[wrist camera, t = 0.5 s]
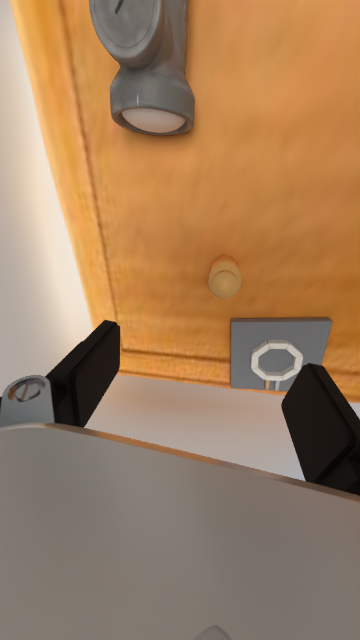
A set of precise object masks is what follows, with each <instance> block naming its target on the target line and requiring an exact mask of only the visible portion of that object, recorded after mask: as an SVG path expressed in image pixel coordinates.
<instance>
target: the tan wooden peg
mask: <svg viewBox="0 0 360 640" xmlns="http://www.w3.org/2000/svg"><path fill="white" fill-rule="evenodd" d="M241 284H242V278H241V274H240V270H239V266H238V263H237V261H236V260H235V259H234V258H232V257H231V256H220V257H218V258H216V259H215V260H214V261H213V263H212V265H211V269H210V273H209V278H208V286H209V289H210V291H211V292H212V293H213V294H214V295H216V296H217V297H219V298H223V299H226V298H230V297H232V296H233V295H235V294H236V293H237V292H238V291H239V289H240V287H241Z"/></svg>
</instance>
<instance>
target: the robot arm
mask: <svg viewBox="0 0 360 640" xmlns="http://www.w3.org/2000/svg"><path fill="white" fill-rule="evenodd" d="M119 367H120V326H118V325H117V323H116V322H113V321H108V320H104V321H103V322H102V323H101V324H100V325H99V326H98V327H97V328H96V329H95V330H94V331H93V332H92V333H91V334H90V335H89V336H88V337H87V338H86V339H85V340H84V341H82V342H80V343H79V344H78V345H77V346H76V347H75V348H74V349H73V350H72V351H71V352H70V353H69V354H68V355H67V356H66V357H65V358H64V359H63V360H62V361H61V362H60V363H59V364H58V365H57V366H56V367H55V368H54V369H52V371H51V372H50V373H48V374H47V375H46V376H45V377H44V376H41V375H31V376H26V377H23V378H20V379H18V380H16V381H14V382H13V383H11V384H10V385H9V386H8V387H7V388H6V389H5V391H4V392H3V395H2V397H0V640H360V419H359V418H358V416H357V415H356V413H355V412H354V410H353V409H352V407H351V406H350V405H349V403H348V402H347V400H346V399H345V397H344V396H343V394H342V393H341V391H340V390H339V388H338V387H337V386H336V384H335V383H334V381H333V380H332V378H331V377H330V375H329V374H328V372H327V371H326V369H325V368H324V367H323V366H322V365H317V364H313V363H308V364H306V365H303V366H302V368H301V370H300V371H299V373H298V375H297V377H296V378H295V380H294V382H293V384H292V385H291V387H290V389H289V391H288V392H287V394H286V396H285V398H284V399H283V401H282V405H281V406H282V411H283V414H284V417H285V420H286V423H287V426H288V429H289V432H290V435H291V438H292V441H293V444H294V447H295V450H296V453H297V456H298V459H299V462H300V466H301V468H302V472H303V475H304V477H305V480H306V481H302V480H298V479H294V478H290V477H286V476H282V475H278V474H274V473H269V472H266V471H262V470H258V469H254V468H250V467H246V466H242V465H238V464H234V463H230V462H226V461H221V460H218V459H214V458H210V457H205V456H201V455H197V454H193V453H189V452H185V451H181V450H177V449H172V448H168V447H164V446H160V445H156V444H152V443H148V442H143V441H139V440H135V439H131V438H127V437H122V436H118V435H114V434H109V433H105V432H100V431H96V430H91V429H86V428H84V427H85V425H86V424H87V422H88V420H89V419H90V417H91V415H92V414H93V412H94V410H95V409H96V407H97V405H98V404H99V402H100V401H101V399H102V397H103V396H104V393H105V392H106V390H107V389H108V387H109V386H110V384H111V382H112V380H113V379H114V377H115V376H116V374H117V372H118V370H119Z"/></svg>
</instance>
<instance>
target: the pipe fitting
mask: <svg viewBox="0 0 360 640" xmlns="http://www.w3.org/2000/svg"><path fill="white" fill-rule="evenodd" d="M89 6H90V13H91V18H92V22H93V25H94V28H95V31H96V33H97V36H98V38H99V39H100V41H101V43H102V44H103V46H104V47H105V48H106V50H107V51H108V52H109V54H110V55H111V56H112V57H113V58H114V59H115V60H116V61H117V62H119V64H120V69H119V71H118V73H117V75H116V76H115V78H114V80H113V82H112V83H111V86H110V104H111V116H112V119H113V120H114V121H115V122H116V123H117V124H118V125H120V126H122V127H124V128H126V129H129V130H131V131H135V132H138V133H143V134H149V135H162V136H164V135H176V134H182V133H185V132H188V131H189V130H191V129H192V127H193V124H194V107H195V99H194V95H193V92H192V90H191V88H190V86H189V84H188V82H187V80H186V78H185V57H186V36H187V14H188V0H89Z"/></svg>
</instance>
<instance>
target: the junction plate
mask: <svg viewBox="0 0 360 640" xmlns="http://www.w3.org/2000/svg"><path fill="white" fill-rule="evenodd" d="M331 325H332V320H331V319H330V318H329V317H327V318H232V319H231V388H242V389H259V390H267V391H268V390H275V391H289V389H290V387H291V385H292V384H293V382H294V380H295V378H296V377H297V375H298V373H299V371H300V370H301V368H302V366H303V365H306V364H308V363H313V364H317V365H321V364H322V360H323V356H324V352H325V348H326V344H327V341H328V337H329V333H330V329H331Z"/></svg>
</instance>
